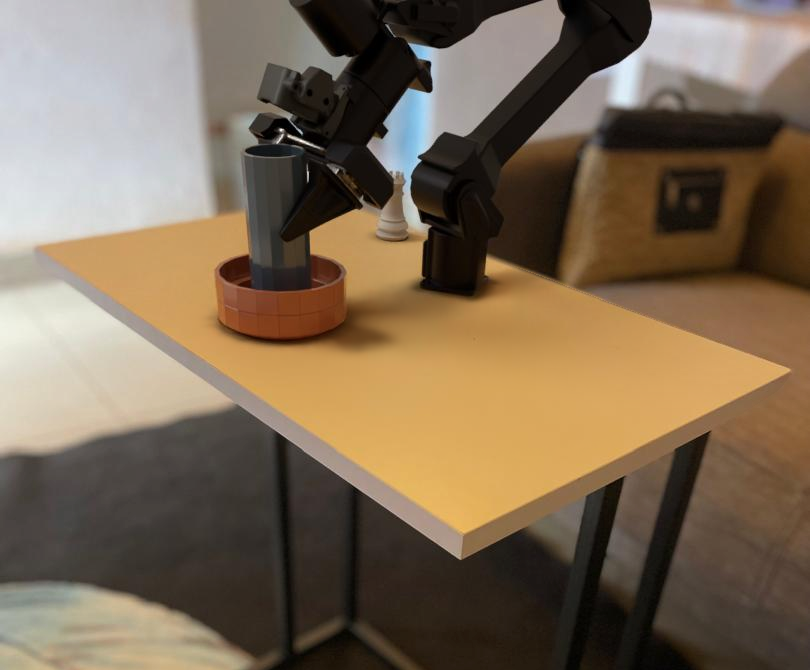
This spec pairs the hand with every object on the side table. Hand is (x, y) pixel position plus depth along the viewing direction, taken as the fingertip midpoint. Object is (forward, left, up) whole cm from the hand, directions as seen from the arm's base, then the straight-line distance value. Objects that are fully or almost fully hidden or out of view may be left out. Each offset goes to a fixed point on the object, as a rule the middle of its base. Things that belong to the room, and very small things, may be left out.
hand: (266, 230), depth 81 cm
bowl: (-1, -1, -9) cm, 9 cm away
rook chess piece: (+1, -34, -9) cm, 35 cm away
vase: (-1, -1, -7) cm, 7 cm away
